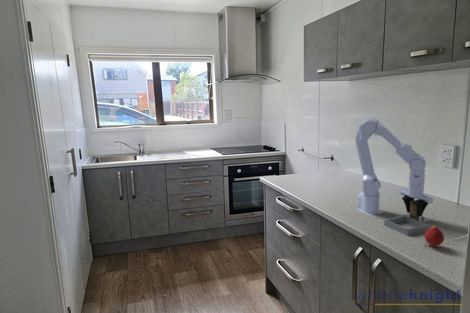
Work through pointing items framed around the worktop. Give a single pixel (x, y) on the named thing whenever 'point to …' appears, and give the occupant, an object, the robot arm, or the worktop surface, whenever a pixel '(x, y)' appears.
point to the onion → (434, 236)
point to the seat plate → (419, 218)
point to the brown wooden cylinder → (413, 210)
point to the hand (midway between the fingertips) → (414, 214)
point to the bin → (419, 225)
